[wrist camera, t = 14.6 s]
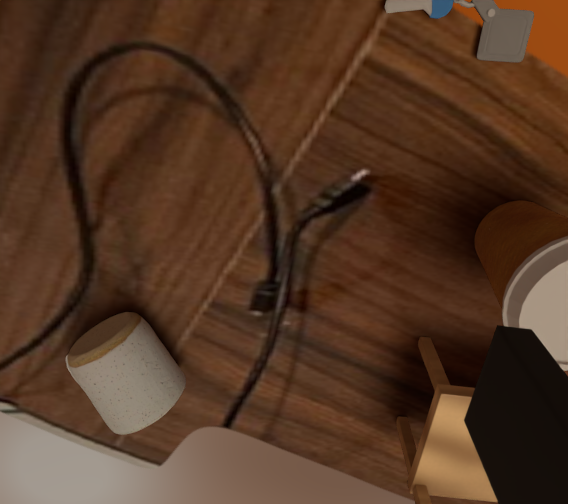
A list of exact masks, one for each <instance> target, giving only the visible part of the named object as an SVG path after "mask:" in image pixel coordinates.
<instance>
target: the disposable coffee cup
mask: <svg viewBox="0 0 568 504" xmlns="http://www.w3.org/2000/svg"><path fill="white" fill-rule="evenodd" d="M475 249H476V253H477V255H478V257H479V259H480V261H481V264H482V266H483V268H484V270H485V272H486V275H487V277H488V279H489V281H490V284H491V286H492V288H493V290H494V293H495V295H496V297H497V299H498V302H499V304H500V306H501V308H502V318H503V325H504V326H507V327H516V328H525V329H532V330H533V332H534V333H535V334H536V336H537V337H538V338H539V340H540V341H541V342H542V344H543V345H544V346H545V347H546V349H547V350H548V351H549V353H550V354H551V355H552V357H553V358H554V359H555V361H556V362H557V363H558V364H559V366H560V367H561V368H562V370H565V371H568V218H567V217H565V216H562V215H560V214H558V213H556V212H553V211H551V210H549V209H547V208H544V207H542V206H540V205H538V204H536V203H533V202H529V201H522V200H518V201H512V202H508V203H505V204H502V205H500V206H498V207H496V208H495V209H493V210H492V211H490V212H489V213H488V214H487V215H486V216H485V217H484V218H483V220H482V221H481V222H480V224H479V226H478V228H477V230H476V234H475Z"/></svg>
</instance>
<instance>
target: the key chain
mask: <svg viewBox="0 0 568 504" xmlns="http://www.w3.org/2000/svg"><path fill="white" fill-rule="evenodd" d="M453 2H454V3H459V4H460V5H461V6H464V7H467V8H470V7H474V8H475V9H476V10H477V12H478V13H479V15H480V16H481V18H482V20H483V21H484V22H483V27H482V32H481V37H480V41H479V46H478V51H477V58H478V59H479V60H489V61H504V62H521V61H522V60H523V58H524V54H525V50H526V46H527V42H528V38H529V34H530V30H531V26H532V22H533V18H534V13H533V12H532V11H525V10H510V9H499V8H498V7H497V5H496V4H495V3H494V1H493V0H472V1H471V2H470V3H469V2H467V1H464V0H457V1H456V0H386V3H385V10H386V13H393V12H403V11H412V10H422V9H424V11H425V12H426V13H427V14H428V15H429V17H430V18H436V19H438V18H440V17H443V16H445V15H447V13H448V12H449V11H450V10H451V9H452V5H453Z"/></svg>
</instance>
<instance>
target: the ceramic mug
mask: <svg viewBox="0 0 568 504" xmlns="http://www.w3.org/2000/svg"><path fill="white" fill-rule="evenodd" d="M66 365H67V367H68V370H69V372H70V373H71V375H72V377H73V378H74V379H75V381H76V382H77V383H78V384H79V385H80V386H81V388H82V389H83V390H84V391H85V393H86V394H87V396H88V397H89V399H90V400H91V401H92V403H93V405H94V406H95V408H96V409H97V411H98V412H99V414H100V415H101V417H102V418H103V420H104V421H105V422H106V424H107V425H108V427H109V428H110V429H111V430H112V431H113V432H114V433H117V434H122V435H123V434H130V433H133V432H136V431H139V430H141V429H143V428H145V427H147V426H149V425H151V424H152V423H154V422H155V421H157V420H158V419H160V418H161V417H162V416H163V415H165V414H166V413H167V412H168V411H169V410H170V409H171V408H172V407H173V406H174V404H175V403H176V402H177V400H178V399H179V397H180V396H181V394H182V392H183V390H184V388H185V384H186V379H185V375H184V373H183V372H182V370H181V369H180V368H179V366H178V365H177V364H176V362H175V361H174V359H173V358H172V357H171V355H170V354H169V352H168V351H167V349H166V348H165V346H164V345H163V344H162V342H161V341H160V340H159V338H158V337H157V335H156V334H155V332H154V331H153V329H152V328H151V326H150V325H149V324H148V323H147V322H146V321H145V320H144V319H143V318H142V317H141V316H140V315H138V314H137V313H134V312H124V313H120V314H117V315H115V316H112V317H110V318H108V319H106V320H104V321H102V322H101V323H99V324H98V325H96V326H95V327H93V328H92V329H90V330H89V331H88V332H86V333H85V334H84V335H83V336H82V337H80V338H79V339H78V340H77V341H76V342H75V344H74V345H73V346H72V347H71V349H70V351H69V354H68V355H67V356H66Z"/></svg>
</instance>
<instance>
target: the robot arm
mask: <svg viewBox="0 0 568 504" xmlns="http://www.w3.org/2000/svg"><path fill="white" fill-rule="evenodd" d="M464 422H465V425H466V427H467V429H468V432H469V434H470V436H471V439H472V441H473V444H474V446H475V448H476V451H477V453H478V456H479V458H480V460H481V463H482V465H483V468H484V470H485V472H486V475H487V477H488V480H489V482H490V484H491V487H492V489H493V492H494V494H495V496H496V499H497V501H498V504H568V376H567V375H566V374H565V372H564V371H563V370H562V368H561V367H560V366H559V364H558V363H557V362H556V361H555V359H554V358H553V357H552V355H551V354H550V353H549V351H548V350H547V349H546V347H545V346H544V345H543V344H542V342H541V341H540V340H539V338H538V337H537V336H536V334H535V333H534V332H533V330H532V329H525V328H516V327H507V326H498V325H497V328H496V331H495V333H494V336H493V339H492V342H491V345H490V348H489V350H488V353H487V356H486V359H485V362H484V365H483V367H482V370H481V373H480V376H479V379H478V382H477V384H476V387H475V390H474V393H473V396H472V399H471V401H470V404H469V407H468V410H467V413H466V416H465V418H464Z"/></svg>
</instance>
